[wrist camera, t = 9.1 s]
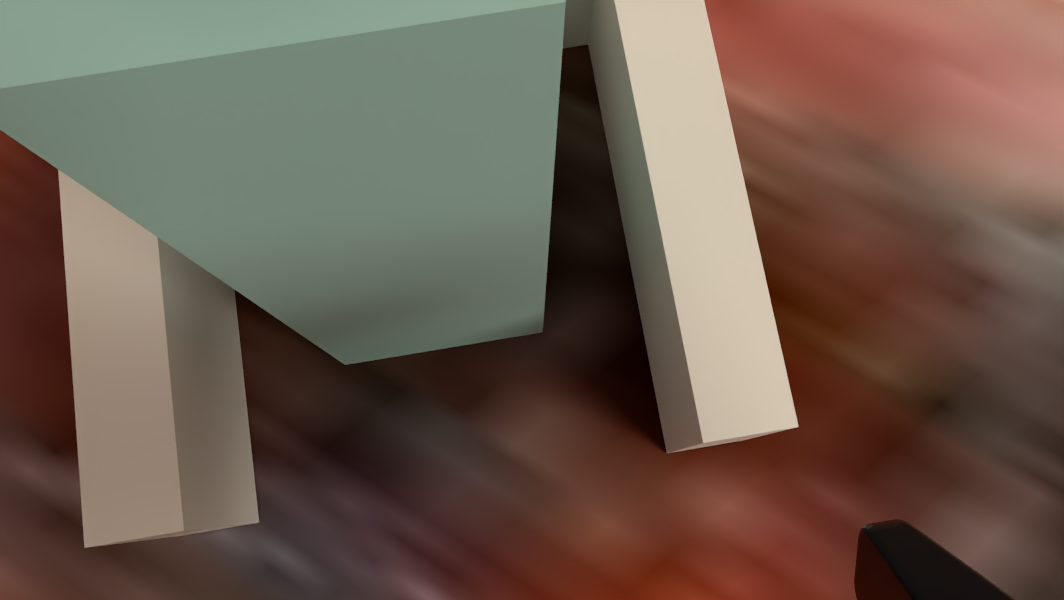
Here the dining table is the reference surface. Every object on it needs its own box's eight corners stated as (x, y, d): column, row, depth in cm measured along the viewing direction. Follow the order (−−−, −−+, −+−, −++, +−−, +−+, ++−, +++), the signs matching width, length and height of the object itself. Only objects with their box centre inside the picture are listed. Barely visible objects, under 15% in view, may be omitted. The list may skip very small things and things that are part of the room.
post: (542, 332, 19) (571, -90, 5) (344, 365, 19) (-162, 18, 5) (510, 146, 20) (462, -648, 6) (320, 176, 20) (-174, -566, 6)
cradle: (742, 440, 18) (798, 426, 15) (181, 535, 18) (84, 547, 14) (643, -29, 20) (669, -153, 17) (137, 48, 20) (42, -60, 16)
